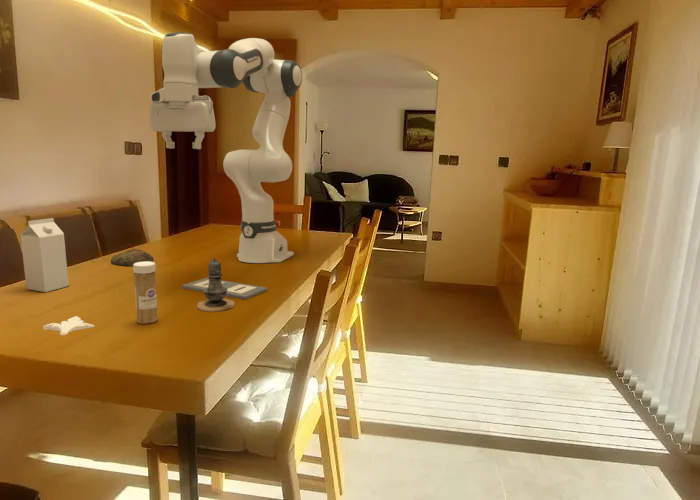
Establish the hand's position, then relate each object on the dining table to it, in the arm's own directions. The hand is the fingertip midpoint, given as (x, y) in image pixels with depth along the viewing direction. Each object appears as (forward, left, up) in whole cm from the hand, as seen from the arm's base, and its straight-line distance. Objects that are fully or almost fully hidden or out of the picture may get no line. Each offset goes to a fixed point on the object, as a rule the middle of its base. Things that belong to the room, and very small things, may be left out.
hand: (183, 148), depth 132 cm
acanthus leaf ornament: (+39, +3, -39) cm, 56 cm away
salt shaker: (+12, +20, -38) cm, 45 cm away
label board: (-1, +12, -38) cm, 40 cm away
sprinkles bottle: (+28, +14, -39) cm, 50 cm away
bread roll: (-12, -37, -39) cm, 55 cm away
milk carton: (+22, -30, -39) cm, 54 cm away
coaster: (+12, +20, -39) cm, 45 cm away
